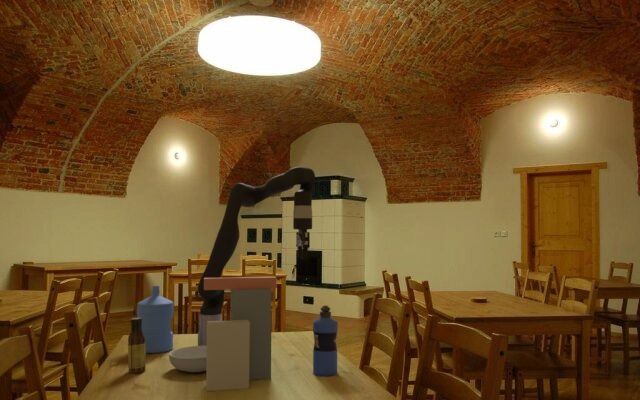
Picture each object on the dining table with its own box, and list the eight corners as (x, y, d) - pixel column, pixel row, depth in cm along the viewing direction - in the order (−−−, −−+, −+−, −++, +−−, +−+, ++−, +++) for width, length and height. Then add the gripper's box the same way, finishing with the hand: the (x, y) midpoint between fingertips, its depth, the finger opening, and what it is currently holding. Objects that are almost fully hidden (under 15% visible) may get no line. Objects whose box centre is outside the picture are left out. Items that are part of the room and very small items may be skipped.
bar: (204, 290, 192) (204, 278, 193) (203, 288, 196) (203, 277, 197) (276, 288, 199) (276, 277, 199) (274, 287, 203) (274, 276, 203)
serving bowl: (177, 362, 218) (177, 345, 218) (229, 363, 217) (229, 345, 217) (160, 376, 197) (161, 357, 197) (217, 377, 196) (218, 358, 197)
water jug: (153, 355, 229) (154, 289, 230) (128, 351, 237) (129, 286, 238) (180, 348, 242) (181, 285, 243) (156, 344, 250) (157, 283, 252)
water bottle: (334, 369, 207) (334, 303, 209) (340, 376, 198) (340, 307, 200) (310, 370, 205) (310, 304, 207) (315, 377, 196) (315, 308, 198)
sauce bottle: (149, 370, 205) (150, 317, 206) (138, 374, 200) (139, 320, 201) (134, 368, 208) (135, 316, 209) (123, 372, 202) (124, 319, 203)
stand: (206, 391, 179) (208, 294, 181) (205, 376, 197) (206, 288, 199) (275, 386, 185) (276, 292, 187) (267, 372, 202) (268, 286, 204)
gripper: (316, 217, 208) (316, 259, 207) (308, 217, 222) (308, 257, 221) (297, 217, 206) (296, 259, 205) (290, 217, 220) (290, 257, 219)
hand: (302, 258), depth 213 cm, fingers open, 8 cm apart
